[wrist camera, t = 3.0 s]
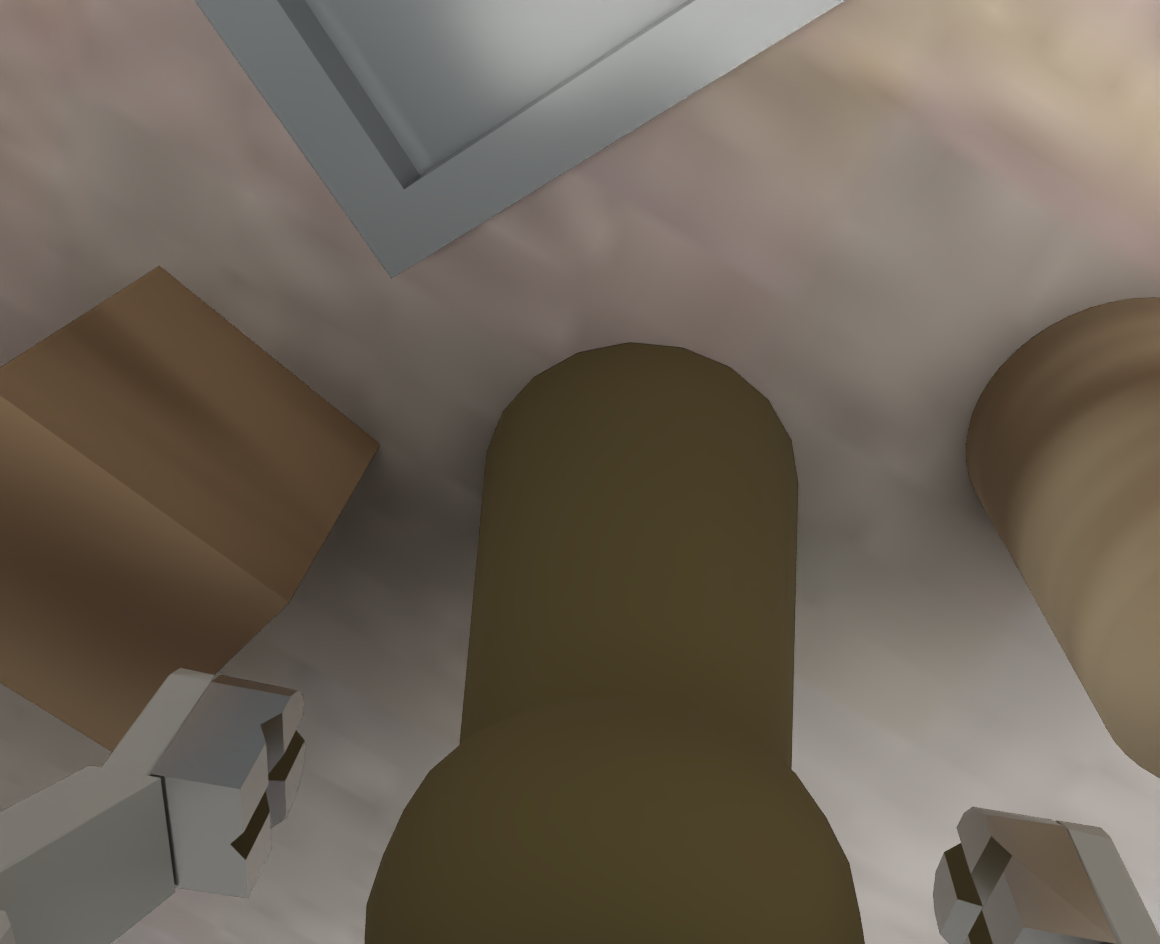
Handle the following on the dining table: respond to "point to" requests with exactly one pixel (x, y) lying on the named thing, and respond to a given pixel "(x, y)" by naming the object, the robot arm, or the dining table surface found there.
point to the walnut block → (154, 501)
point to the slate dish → (477, 92)
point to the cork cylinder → (1085, 500)
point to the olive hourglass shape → (626, 683)
